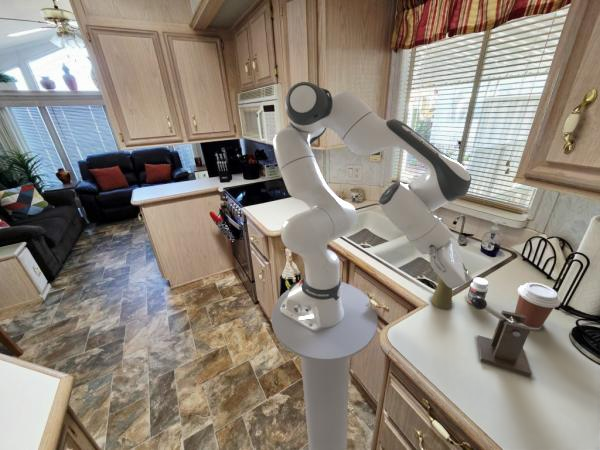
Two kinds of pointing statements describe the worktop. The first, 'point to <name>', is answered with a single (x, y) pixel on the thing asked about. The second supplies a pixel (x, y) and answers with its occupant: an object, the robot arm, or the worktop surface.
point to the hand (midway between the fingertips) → (468, 277)
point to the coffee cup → (536, 303)
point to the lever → (492, 310)
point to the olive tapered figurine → (442, 295)
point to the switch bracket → (506, 346)
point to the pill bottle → (477, 289)
